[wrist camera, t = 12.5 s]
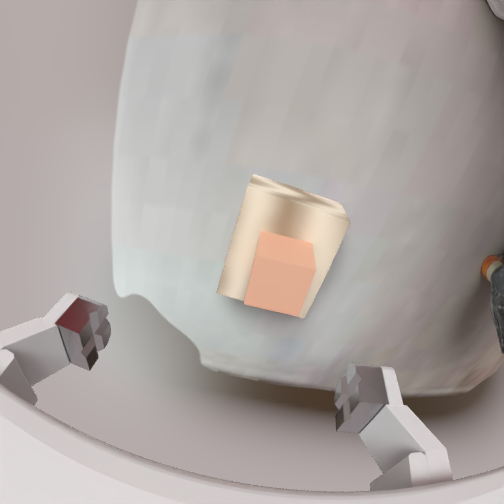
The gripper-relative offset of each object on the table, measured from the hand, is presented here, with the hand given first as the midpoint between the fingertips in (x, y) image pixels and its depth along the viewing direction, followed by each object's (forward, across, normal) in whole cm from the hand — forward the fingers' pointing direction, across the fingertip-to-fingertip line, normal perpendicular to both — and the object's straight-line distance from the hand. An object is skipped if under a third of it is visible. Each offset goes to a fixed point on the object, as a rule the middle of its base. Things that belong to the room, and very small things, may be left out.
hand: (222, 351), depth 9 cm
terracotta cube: (+20, -2, +7) cm, 21 cm away
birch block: (+26, -2, +7) cm, 27 cm away
